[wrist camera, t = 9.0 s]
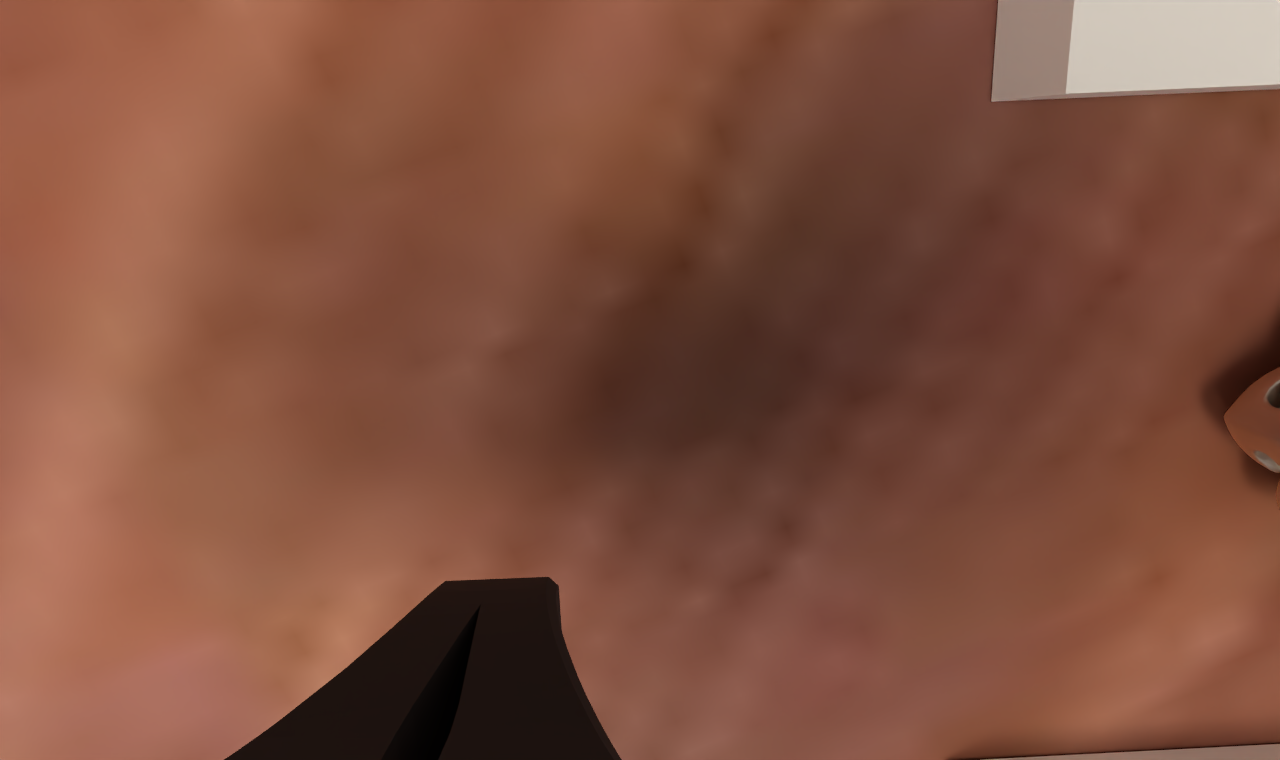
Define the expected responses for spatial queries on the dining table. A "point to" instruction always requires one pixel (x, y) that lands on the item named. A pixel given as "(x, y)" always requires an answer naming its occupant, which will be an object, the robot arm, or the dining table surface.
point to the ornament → (1259, 422)
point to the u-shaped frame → (1137, 65)
